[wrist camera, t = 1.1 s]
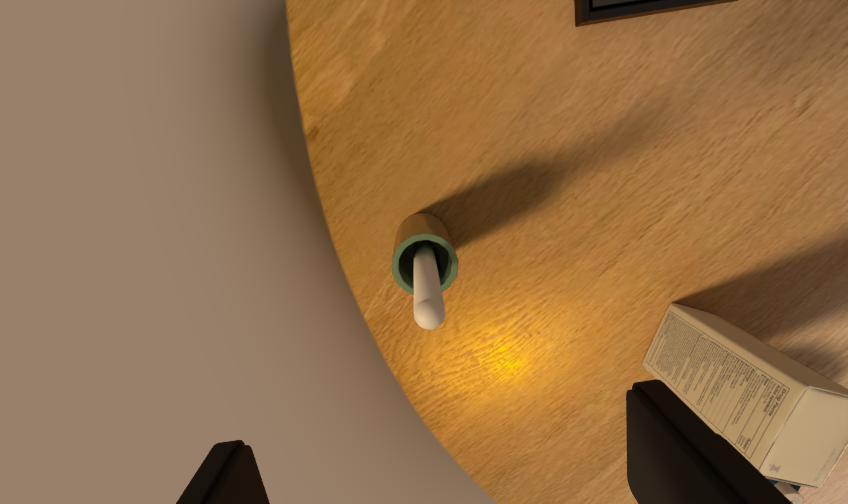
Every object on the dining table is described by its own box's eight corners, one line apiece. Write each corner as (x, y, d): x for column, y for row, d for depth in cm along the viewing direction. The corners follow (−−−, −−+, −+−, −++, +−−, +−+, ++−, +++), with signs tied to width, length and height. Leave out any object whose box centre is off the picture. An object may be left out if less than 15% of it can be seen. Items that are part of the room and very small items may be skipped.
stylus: (412, 232, 30) (411, 307, 17) (430, 229, 30) (444, 302, 17) (415, 250, 31) (416, 337, 17) (433, 247, 31) (448, 332, 17)
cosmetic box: (683, 375, 35) (820, 494, 23) (637, 363, 34) (752, 479, 23) (716, 311, 33) (880, 404, 22) (668, 298, 33) (809, 386, 21)
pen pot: (392, 217, 30) (386, 239, 24) (445, 208, 30) (454, 229, 24) (400, 266, 32) (397, 301, 25) (451, 258, 31) (462, 291, 25)
